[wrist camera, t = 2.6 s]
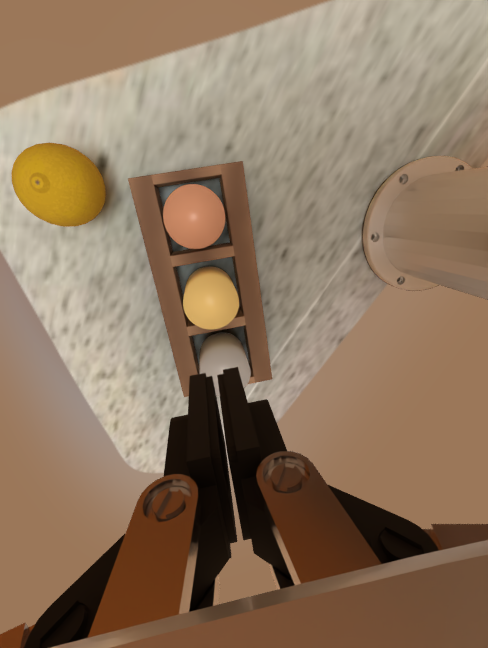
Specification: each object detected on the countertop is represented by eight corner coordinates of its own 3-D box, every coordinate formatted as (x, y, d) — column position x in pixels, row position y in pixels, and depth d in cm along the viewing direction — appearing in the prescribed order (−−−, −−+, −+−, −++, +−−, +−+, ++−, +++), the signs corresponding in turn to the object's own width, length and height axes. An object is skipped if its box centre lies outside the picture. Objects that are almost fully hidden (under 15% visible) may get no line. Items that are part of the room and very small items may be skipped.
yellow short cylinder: (229, 262, 28) (234, 271, 24) (237, 308, 30) (242, 324, 26) (180, 270, 28) (177, 281, 24) (190, 316, 30) (189, 334, 26)
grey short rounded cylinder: (240, 328, 31) (246, 347, 27) (246, 368, 32) (253, 391, 28) (195, 337, 30) (194, 357, 26) (204, 376, 32) (205, 401, 28)
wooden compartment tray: (238, 166, 28) (242, 161, 25) (266, 365, 35) (272, 379, 32) (135, 181, 27) (127, 178, 24) (185, 381, 34) (184, 396, 31)
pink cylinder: (216, 184, 26) (219, 179, 22) (225, 238, 28) (229, 243, 24) (163, 192, 26) (156, 189, 22) (175, 247, 27) (171, 253, 23)
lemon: (112, 231, 28) (81, 238, 21) (44, 214, 27) (-15, 216, 20) (120, 164, 27) (89, 146, 19) (48, 144, 25) (-15, 117, 18)
